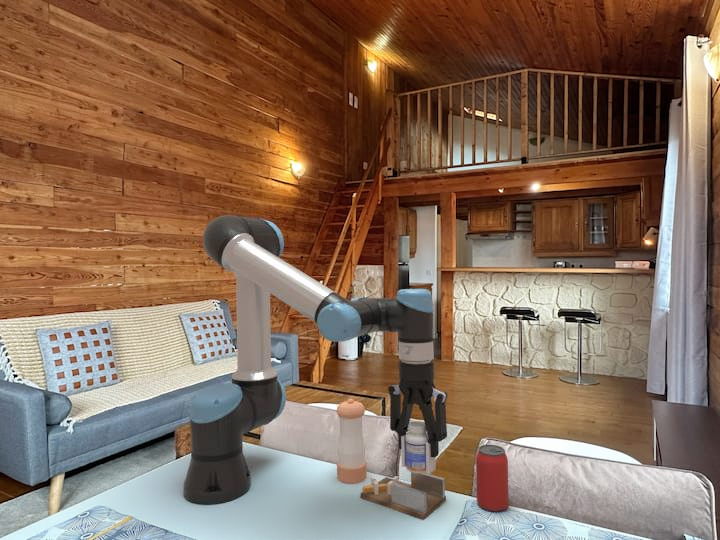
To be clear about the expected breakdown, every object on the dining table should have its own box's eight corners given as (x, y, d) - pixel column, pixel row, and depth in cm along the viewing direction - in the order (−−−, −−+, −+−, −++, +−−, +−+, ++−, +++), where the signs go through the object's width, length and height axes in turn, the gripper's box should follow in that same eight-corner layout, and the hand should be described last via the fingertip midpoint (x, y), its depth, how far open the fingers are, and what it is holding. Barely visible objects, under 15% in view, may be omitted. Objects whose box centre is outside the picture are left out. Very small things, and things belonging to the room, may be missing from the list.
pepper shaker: (341, 469, 121) (339, 394, 121) (369, 471, 120) (367, 395, 120) (333, 482, 114) (332, 402, 114) (363, 484, 113) (362, 404, 113)
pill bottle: (416, 461, 107) (415, 418, 107) (436, 468, 103) (435, 423, 103) (400, 469, 103) (399, 424, 103) (420, 476, 99) (419, 430, 99)
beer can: (510, 514, 99) (509, 456, 98) (477, 511, 100) (476, 454, 100) (507, 498, 105) (506, 444, 105) (476, 496, 106) (475, 442, 106)
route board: (360, 497, 107) (360, 493, 106) (385, 481, 114) (385, 477, 114) (423, 520, 97) (423, 515, 97) (446, 500, 105) (446, 495, 105)
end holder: (391, 502, 102) (391, 484, 102) (413, 486, 109) (413, 469, 109) (424, 514, 97) (424, 494, 97) (444, 496, 104) (444, 478, 104)
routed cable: (360, 491, 107) (360, 481, 107) (378, 480, 113) (377, 470, 113) (388, 501, 103) (388, 490, 103) (405, 489, 108) (404, 478, 108)
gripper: (371, 359, 106) (373, 463, 106) (446, 368, 94) (449, 485, 94) (390, 353, 112) (392, 452, 112) (463, 361, 100) (465, 471, 100)
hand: (418, 467), depth 103 cm, fingers closed on pill bottle, 5 cm apart
